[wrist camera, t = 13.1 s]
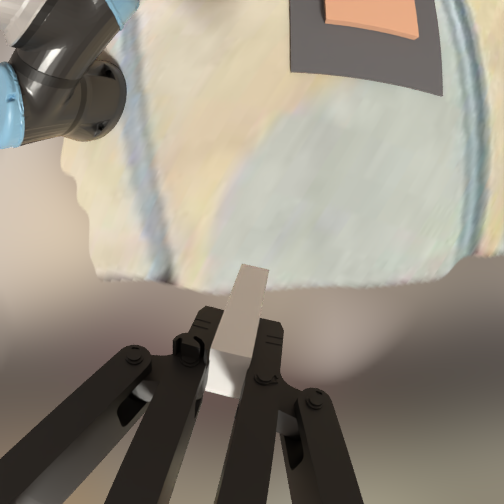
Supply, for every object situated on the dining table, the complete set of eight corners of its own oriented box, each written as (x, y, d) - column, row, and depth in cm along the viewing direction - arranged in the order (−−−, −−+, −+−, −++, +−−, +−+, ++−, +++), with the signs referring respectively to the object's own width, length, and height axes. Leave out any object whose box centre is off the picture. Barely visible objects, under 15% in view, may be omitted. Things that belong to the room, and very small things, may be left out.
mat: (290, 72, 35) (290, 71, 34) (287, -62, 23) (287, -63, 22) (440, 96, 32) (442, 96, 31) (423, -37, 20) (425, -38, 19)
